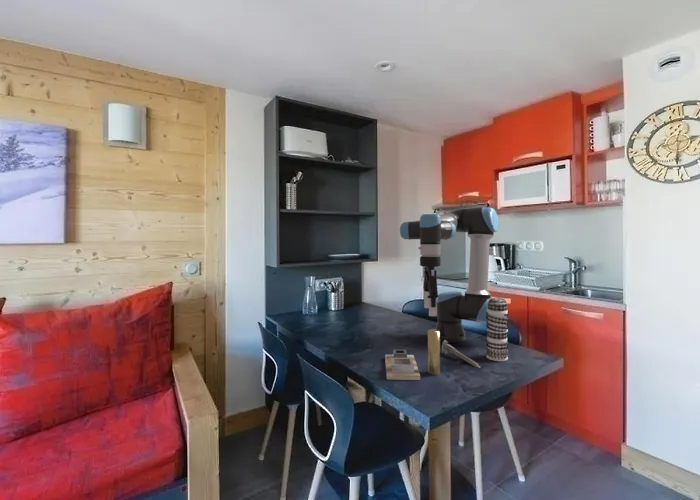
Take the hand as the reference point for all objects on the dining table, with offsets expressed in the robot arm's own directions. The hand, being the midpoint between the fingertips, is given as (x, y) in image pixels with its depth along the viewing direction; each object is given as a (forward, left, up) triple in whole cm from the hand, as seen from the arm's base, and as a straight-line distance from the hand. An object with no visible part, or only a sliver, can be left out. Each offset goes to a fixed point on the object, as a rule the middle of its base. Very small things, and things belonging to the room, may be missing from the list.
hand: (430, 311), depth 132 cm
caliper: (-14, -13, -24) cm, 30 cm away
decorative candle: (-30, -16, -23) cm, 41 cm away
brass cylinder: (-1, +1, -23) cm, 23 cm away
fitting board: (+11, -3, -23) cm, 26 cm away
